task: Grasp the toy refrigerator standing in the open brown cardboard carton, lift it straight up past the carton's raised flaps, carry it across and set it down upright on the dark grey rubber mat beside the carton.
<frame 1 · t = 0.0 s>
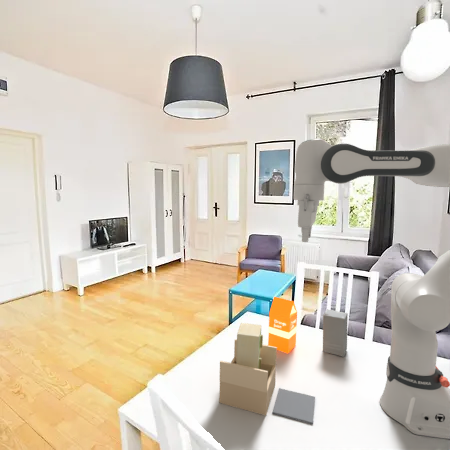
hand: (306, 239, 91), 48 cm above the table, tool pointing down, fingers open, 8 cm apart
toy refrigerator: (248, 394, 92), resting in carton
orange juice: (281, 346, 121), on the table
skincare box: (333, 351, 118), on the table
mat: (294, 405, 87), on the table
carton: (248, 393, 92), on the table
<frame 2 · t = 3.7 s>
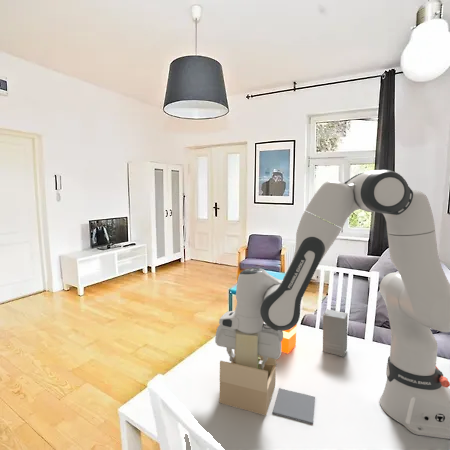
hand: (246, 364, 91), 10 cm above the table, tool pointing down, fingers open, 8 cm apart
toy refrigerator: (248, 394, 92), resting in carton, touching arm, gripper
everything else where it was.
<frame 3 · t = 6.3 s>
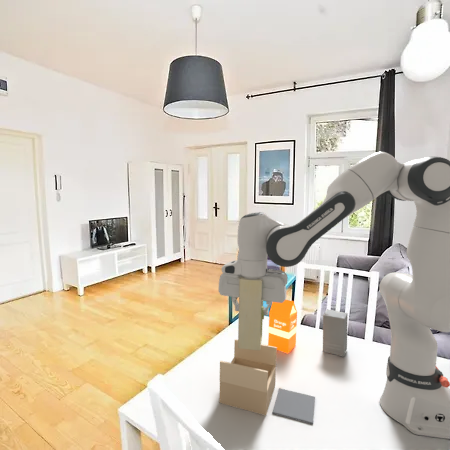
hand: (251, 312, 89), 26 cm above the table, tool pointing down, fingers closed on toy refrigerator, 7 cm apart
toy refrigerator: (251, 343, 90), point 16 cm above the table, touching gripper
everything else where it was.
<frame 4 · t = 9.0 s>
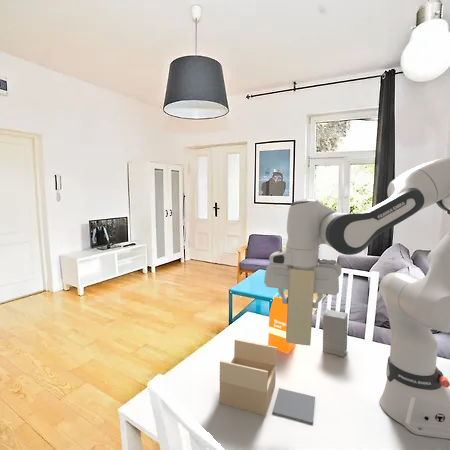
hand: (299, 305, 84), 31 cm above the table, tool pointing down, fingers closed on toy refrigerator, 7 cm apart
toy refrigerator: (299, 338, 85), point 21 cm above the table, touching gripper
everything else where it was.
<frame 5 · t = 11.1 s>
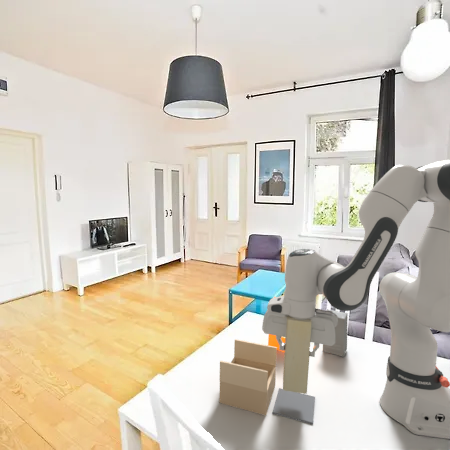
hand: (296, 352, 85), 16 cm above the table, tool pointing down, fingers closed on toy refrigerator, 7 cm apart
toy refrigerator: (295, 384, 86), point 7 cm above the table, touching gripper
everything else where it was.
when the fingers open (11 cm above the table, at t = 13.0 s): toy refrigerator stays where it is, resting on mat.
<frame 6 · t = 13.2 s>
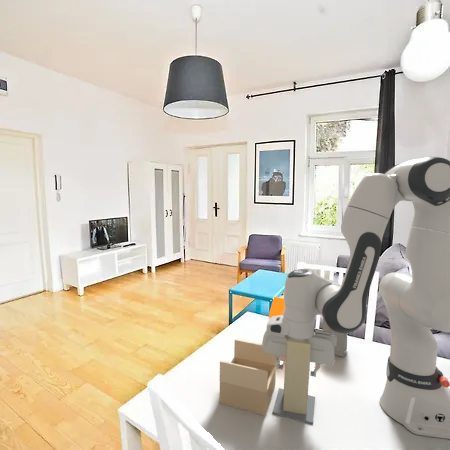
hand: (296, 371, 86), 11 cm above the table, tool pointing down, fingers open, 8 cm apart
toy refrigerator: (295, 404, 87), resting on mat
everything else where it was.
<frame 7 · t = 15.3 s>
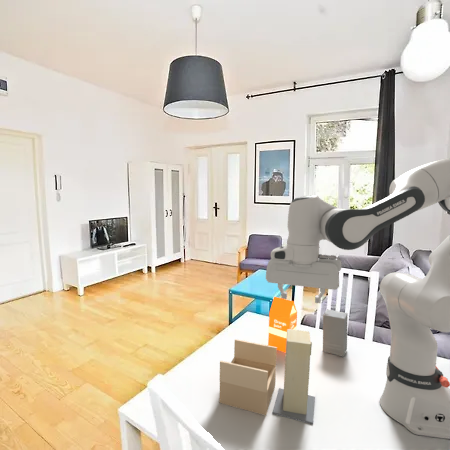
hand: (300, 300, 85), 31 cm above the table, tool pointing down, fingers open, 8 cm apart
nothing on the table moved.
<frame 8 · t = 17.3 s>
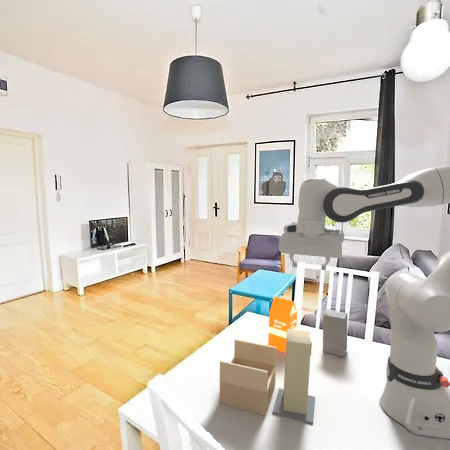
hand: (308, 268, 100), 37 cm above the table, tool pointing down, fingers open, 8 cm apart
nothing on the table moved.
at the end: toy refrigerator inside the target area (0.4 cm from its centre), resting on mat; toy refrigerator tilted 0°; the gripper is holding nothing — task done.
